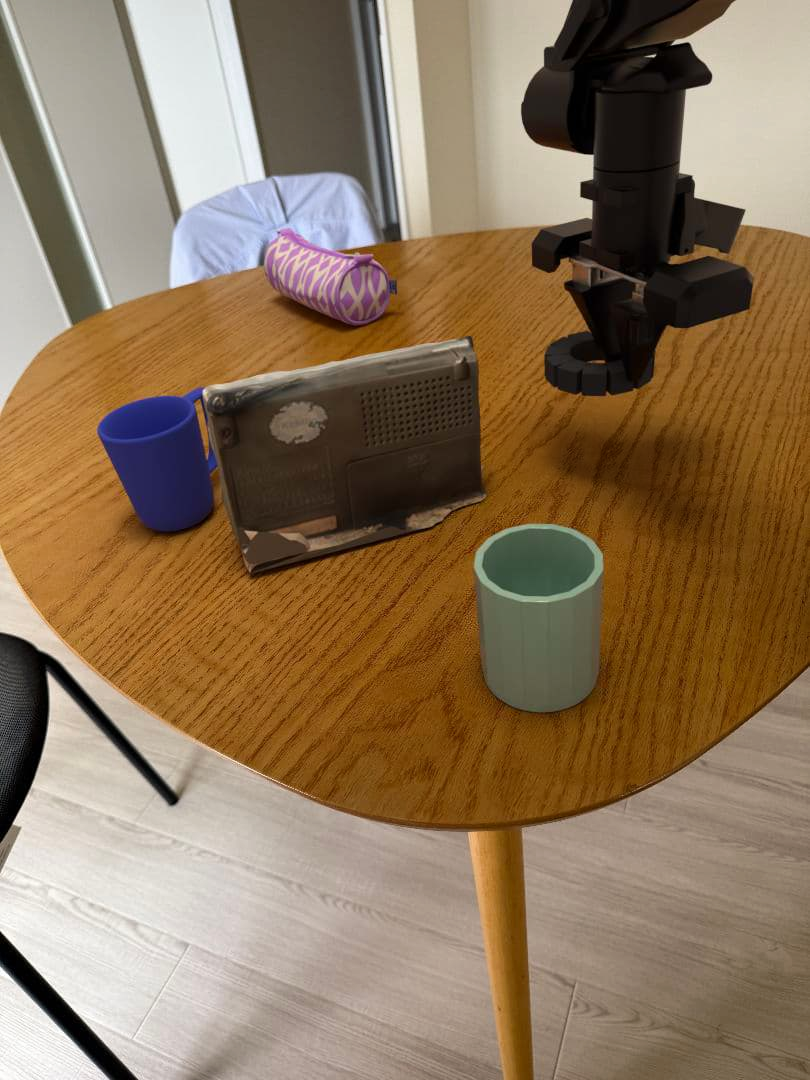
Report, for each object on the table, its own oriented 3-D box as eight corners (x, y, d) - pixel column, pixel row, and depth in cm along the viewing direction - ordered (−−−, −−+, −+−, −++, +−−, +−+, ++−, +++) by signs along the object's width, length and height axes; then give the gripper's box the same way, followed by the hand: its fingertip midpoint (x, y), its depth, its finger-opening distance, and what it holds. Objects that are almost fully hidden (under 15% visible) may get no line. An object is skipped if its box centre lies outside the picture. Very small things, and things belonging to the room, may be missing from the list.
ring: (623, 344, 70) (624, 322, 68) (673, 382, 63) (675, 359, 61) (530, 364, 69) (529, 342, 67) (570, 405, 62) (570, 381, 60)
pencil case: (403, 315, 106) (394, 244, 101) (348, 337, 102) (335, 264, 96) (314, 285, 121) (302, 222, 116) (263, 304, 117) (248, 239, 111)
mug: (264, 476, 75) (240, 380, 69) (187, 548, 67) (152, 446, 61) (197, 465, 78) (168, 373, 73) (115, 533, 70) (75, 434, 64)
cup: (572, 620, 54) (573, 513, 49) (617, 696, 48) (625, 584, 43) (469, 644, 53) (459, 538, 48) (502, 725, 47) (496, 614, 42)
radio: (483, 465, 72) (473, 307, 63) (517, 513, 65) (511, 344, 56) (233, 524, 69) (186, 367, 60) (241, 582, 62) (190, 413, 53)
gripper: (839, 156, 48) (794, 388, 57) (646, 128, 63) (635, 317, 72) (693, 193, 45) (670, 432, 54) (525, 155, 60) (530, 348, 69)
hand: (625, 375), depth 62 cm, fingers closed on ring, 2 cm apart
